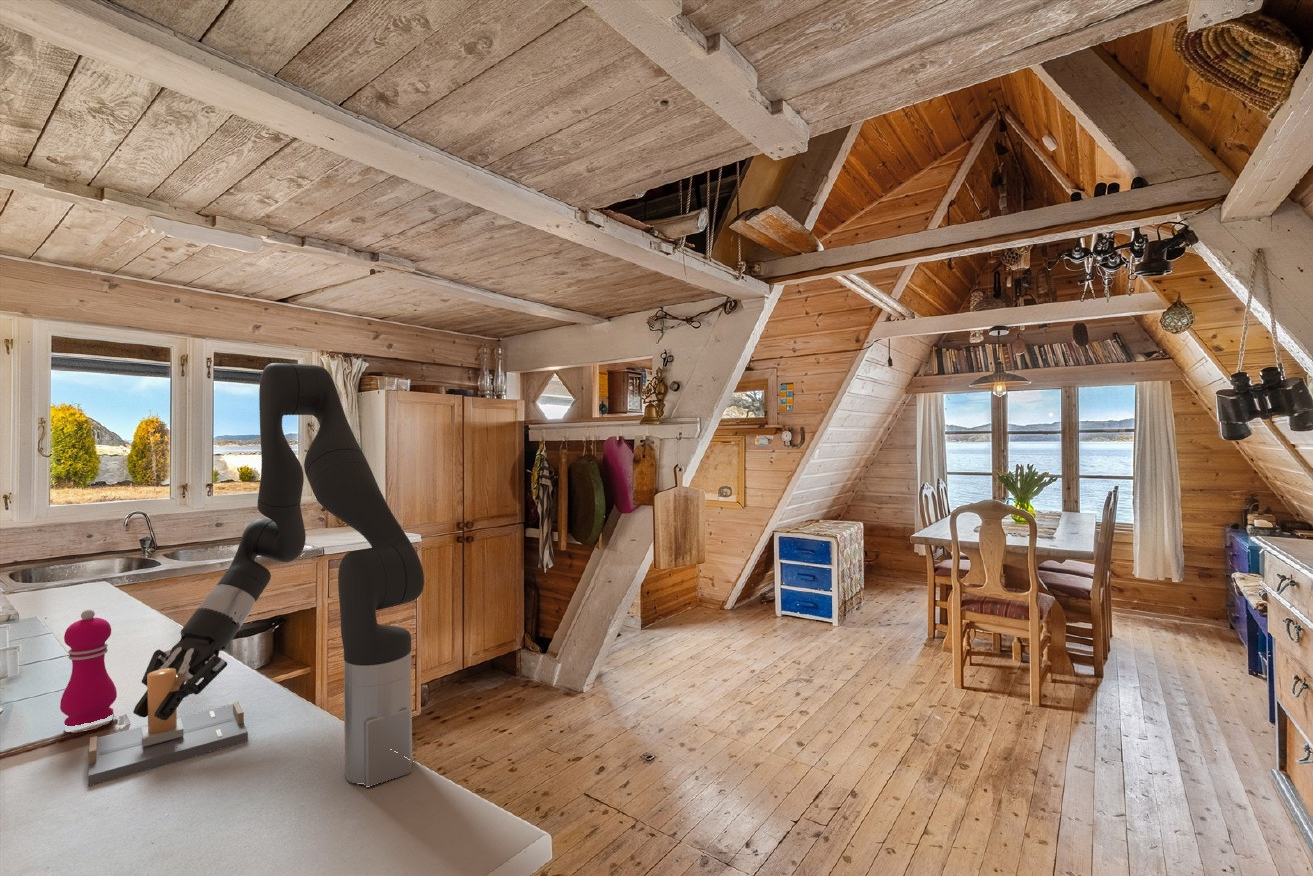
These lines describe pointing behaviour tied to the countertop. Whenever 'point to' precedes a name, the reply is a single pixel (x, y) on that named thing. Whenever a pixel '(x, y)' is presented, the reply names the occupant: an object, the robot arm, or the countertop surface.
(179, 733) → the fader
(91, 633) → the pepper mill
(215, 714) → the fader track
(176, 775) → the countertop surface
